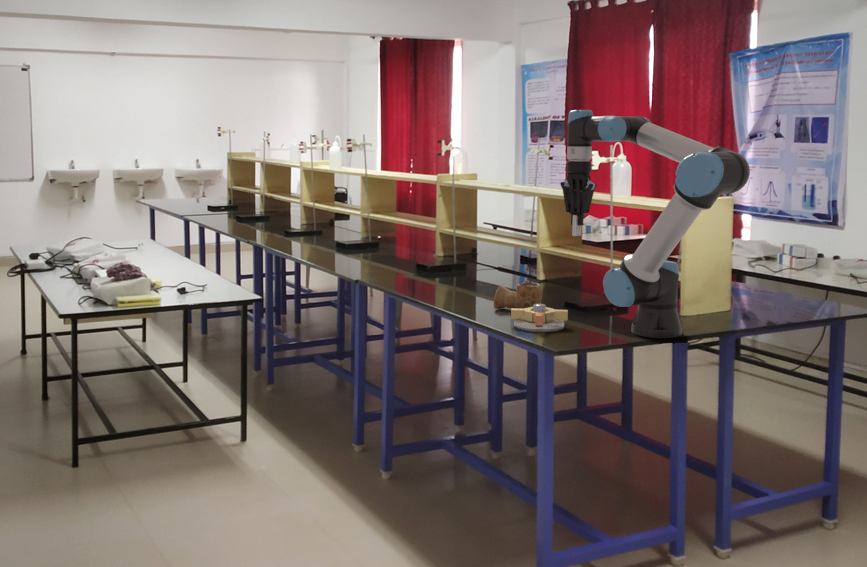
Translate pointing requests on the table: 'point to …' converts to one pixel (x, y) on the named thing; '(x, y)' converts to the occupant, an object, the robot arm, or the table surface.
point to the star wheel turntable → (545, 327)
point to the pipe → (518, 296)
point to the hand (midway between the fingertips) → (576, 235)
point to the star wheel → (539, 315)
